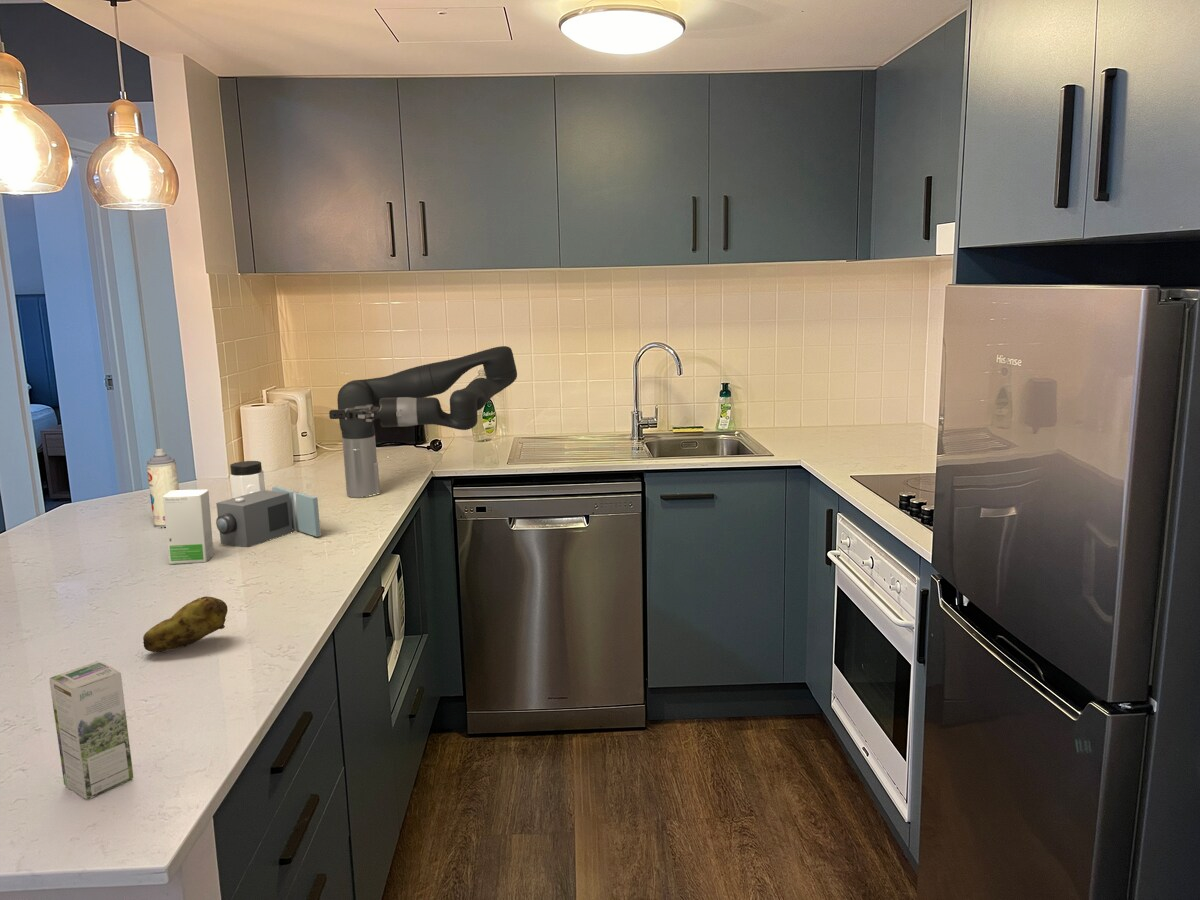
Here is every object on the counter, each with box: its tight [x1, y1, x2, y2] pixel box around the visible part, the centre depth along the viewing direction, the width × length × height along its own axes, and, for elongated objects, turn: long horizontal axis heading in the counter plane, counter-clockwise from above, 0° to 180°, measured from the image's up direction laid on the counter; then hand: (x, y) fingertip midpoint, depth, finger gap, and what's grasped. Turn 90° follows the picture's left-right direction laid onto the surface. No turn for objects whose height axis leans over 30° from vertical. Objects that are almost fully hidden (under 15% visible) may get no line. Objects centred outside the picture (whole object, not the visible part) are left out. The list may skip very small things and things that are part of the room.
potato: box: [142, 596, 229, 654], centre depth 148 cm, size 8×13×8 cm, turn 104°
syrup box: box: [49, 660, 134, 800], centre depth 106 cm, size 6×6×14 cm
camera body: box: [215, 489, 294, 548], centre depth 212 cm, size 16×9×11 cm, turn 153°
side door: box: [271, 485, 322, 537], centre depth 218 cm, size 20×1×10 cm, turn 47°
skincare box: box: [163, 489, 214, 565], centre depth 196 cm, size 8×7×16 cm
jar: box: [229, 460, 266, 499], centre depth 246 cm, size 9×8×12 cm
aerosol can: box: [146, 448, 180, 528], centre depth 227 cm, size 7×7×20 cm
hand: (329, 414), depth 223 cm, fingers closed
